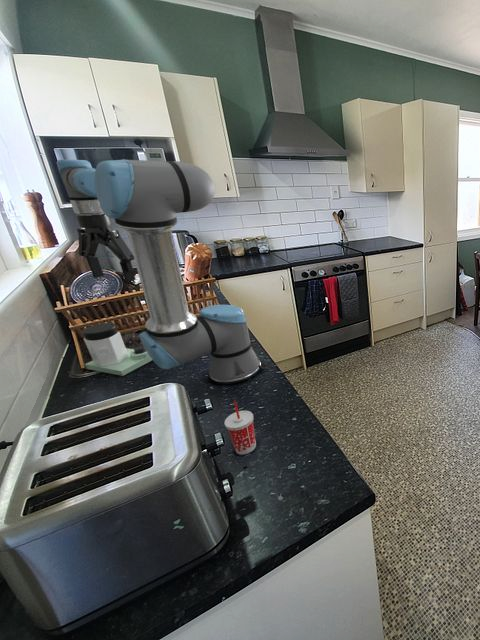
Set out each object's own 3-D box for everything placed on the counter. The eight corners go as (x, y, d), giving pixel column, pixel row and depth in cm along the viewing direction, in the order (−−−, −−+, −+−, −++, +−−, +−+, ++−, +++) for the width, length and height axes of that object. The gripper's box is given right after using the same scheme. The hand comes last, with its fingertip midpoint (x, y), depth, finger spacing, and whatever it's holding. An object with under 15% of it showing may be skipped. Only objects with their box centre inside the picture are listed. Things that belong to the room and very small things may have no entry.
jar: (92, 369, 111) (77, 336, 106) (96, 357, 117) (82, 326, 112) (127, 361, 116) (115, 329, 111) (129, 351, 122) (118, 320, 117)
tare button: (148, 350, 120) (146, 346, 119) (140, 355, 118) (138, 350, 117) (141, 349, 121) (139, 345, 120) (133, 353, 118) (131, 349, 117)
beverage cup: (250, 435, 90) (240, 390, 84) (264, 445, 87) (254, 399, 81) (227, 449, 85) (214, 403, 79) (241, 460, 82) (229, 414, 76)
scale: (158, 357, 122) (155, 348, 121) (122, 376, 111) (119, 366, 110) (124, 351, 125) (121, 342, 124) (86, 369, 114) (82, 360, 113)
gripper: (135, 214, 109) (155, 279, 118) (74, 210, 114) (97, 272, 123) (110, 217, 102) (133, 285, 111) (47, 212, 107) (73, 278, 116)
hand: (114, 278), depth 117 cm, fingers open, 13 cm apart
